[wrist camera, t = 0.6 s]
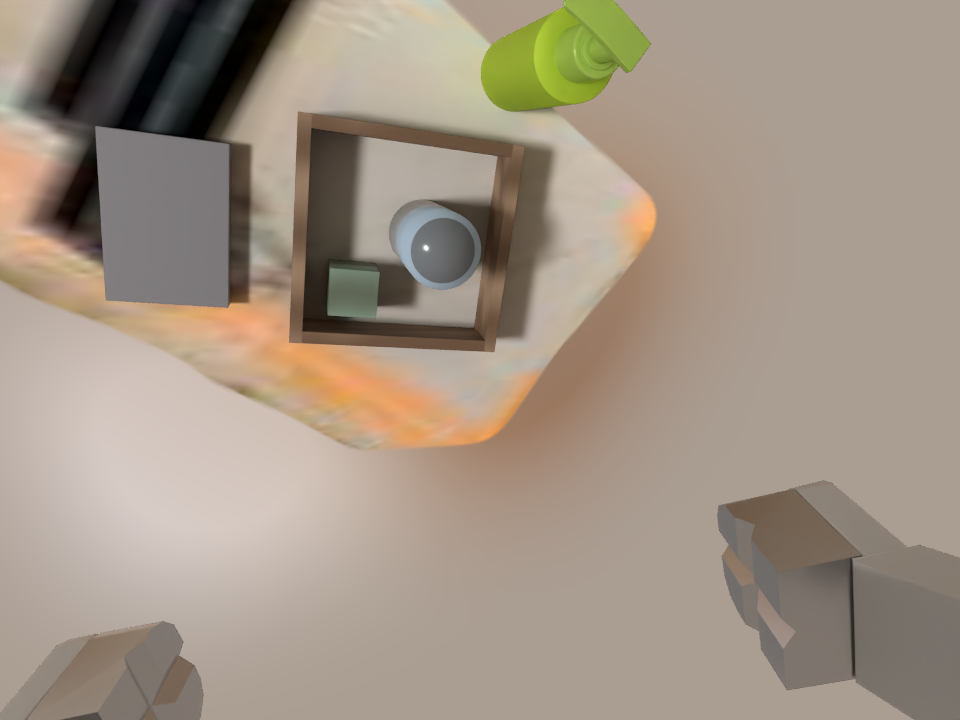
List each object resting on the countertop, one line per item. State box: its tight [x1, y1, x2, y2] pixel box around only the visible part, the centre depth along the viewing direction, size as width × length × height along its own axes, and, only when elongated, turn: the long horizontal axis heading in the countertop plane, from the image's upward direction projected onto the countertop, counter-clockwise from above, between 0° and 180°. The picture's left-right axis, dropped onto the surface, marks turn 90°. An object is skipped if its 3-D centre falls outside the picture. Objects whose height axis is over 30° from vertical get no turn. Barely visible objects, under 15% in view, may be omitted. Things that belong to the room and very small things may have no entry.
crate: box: [289, 112, 525, 352], centre depth 52 cm, size 18×18×4 cm
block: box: [326, 259, 380, 318], centre depth 52 cm, size 4×4×4 cm
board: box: [95, 126, 231, 308], centre depth 48 cm, size 13×9×2 cm
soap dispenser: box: [481, 0, 651, 111], centre depth 42 cm, size 6×7×20 cm
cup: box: [389, 200, 481, 290], centre depth 50 cm, size 6×6×9 cm
